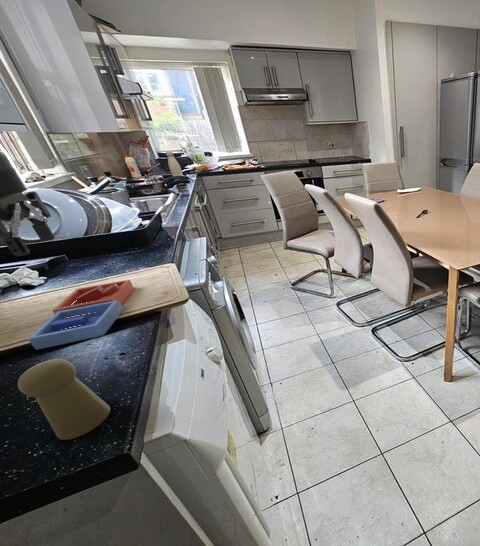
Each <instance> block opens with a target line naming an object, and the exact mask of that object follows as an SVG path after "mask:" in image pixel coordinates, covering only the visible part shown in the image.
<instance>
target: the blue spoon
mask: <svg viewBox="0 0 480 546" xmlns="http://www.w3.org/2000/svg"><path fill="white" fill-rule="evenodd" d="M100 317H101V316H95V317H92V318H90V319H87V317H86V316H85V315H84V316H79V317H74V318H68V319H63V320H58V321H54V322H53V323H52V324H51V326H52V328H53V329H54V330H55V332H57V331H62V330H67V329H72V328H77V327H82V326H87V325H92V324H95V322H96V321H97V320H98V319H99V318H100ZM78 325H82V326H78ZM73 326H77V327H73ZM69 327H72V328H69ZM65 328H67V329H65ZM61 329H62V330H61Z"/></svg>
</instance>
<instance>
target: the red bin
mask: <svg viewBox="0 0 480 546" xmlns="http://www.w3.org/2000/svg"><path fill="white" fill-rule="evenodd" d="M113 284H116V285H117V286H119V289H118V290H117V291H116V292H114V293H113V294H111V295H109V296H107V297H103V298H101V299H99V300H97V301H93V302H87V303H82V304H81V303H80V302H78V301H76V298H77V297H79V296H80V295H82V294H84V293H86V292H88V291H90V290H92V289H94V288H96V287H99V286H101V287H102V288H103V289H105V288H107V287H109V286H110V285H113ZM134 289H135V287H134V285H133V284H132V281H131V280H130V279H125V280H119V281H114V282H113V281H112V282H108V283H107V282H106V283H102V284H96V285H90V286H84V287H79V288H76V289H74V291H73V292H71V293H70V294H69V295H68V296H67V297H66V298H65V299H63V300H62V301H61V302H60V303H59V304H58V305H57V306H55V307H54V308H52V310H51V311H52V312H53V313H54V314H53V315H55V314H56V313H57V312H58V311H63V310H68V309H74V308H79V307H84V306H90V305H95V304H100V303H106V302H111V301H116V300H118V301H119V303H120V305H121V306H122V305H123V303H124V302H125V301H126V300H127V298H128V297H129V296H130V295H131V293H132V292H133V291H134ZM74 301H76V302H75V303H74V304H73V305H71V304H72V303H73V302H74Z"/></svg>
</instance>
